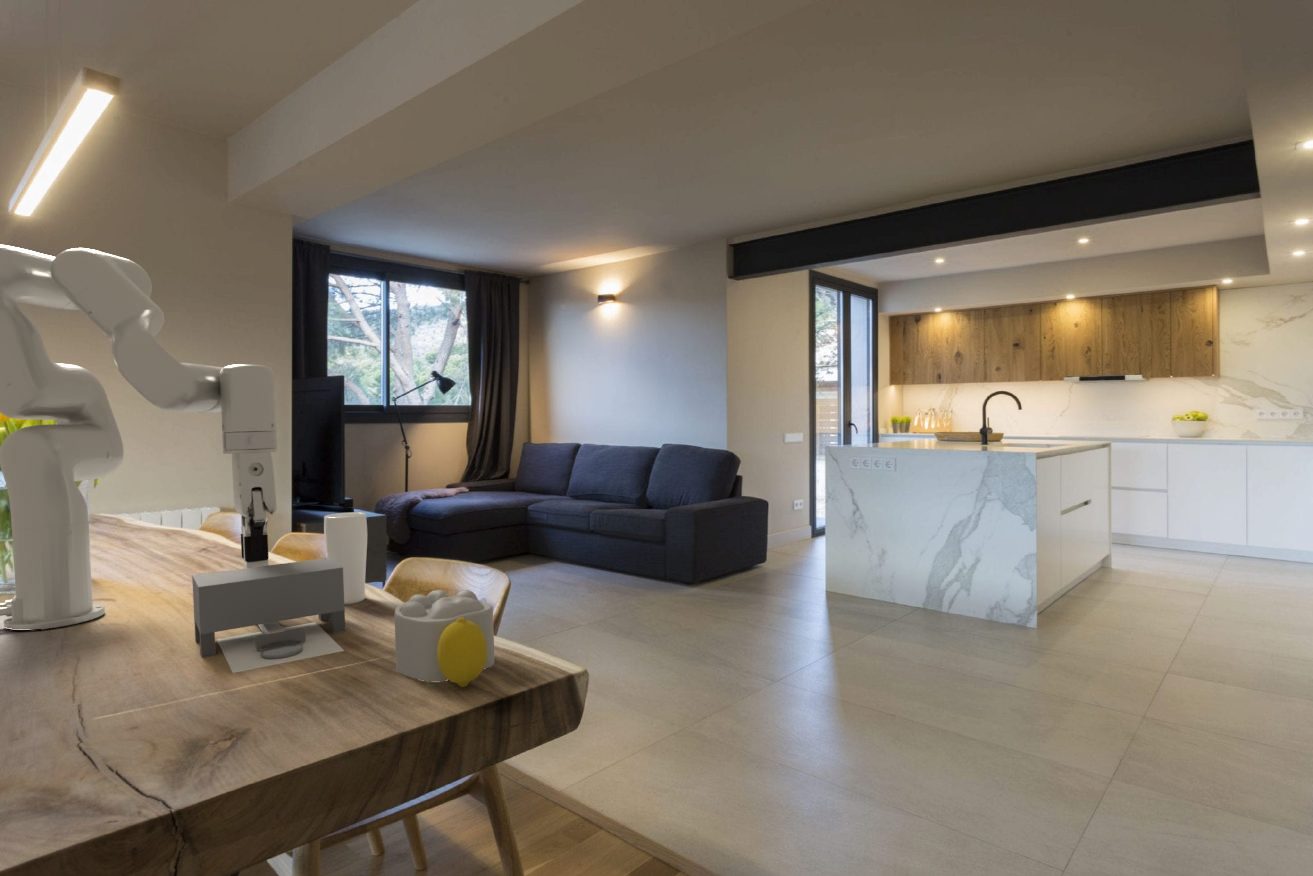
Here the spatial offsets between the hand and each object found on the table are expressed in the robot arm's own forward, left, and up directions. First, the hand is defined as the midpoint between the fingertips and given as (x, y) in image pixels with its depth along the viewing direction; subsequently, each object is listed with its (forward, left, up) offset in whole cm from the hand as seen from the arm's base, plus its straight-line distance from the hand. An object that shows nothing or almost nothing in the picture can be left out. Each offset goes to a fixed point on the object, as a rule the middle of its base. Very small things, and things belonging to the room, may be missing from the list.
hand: (255, 558), depth 116 cm
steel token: (0, -23, -10) cm, 25 cm away
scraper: (0, -9, -9) cm, 13 cm away
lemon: (+14, -51, -10) cm, 53 cm away
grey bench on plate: (0, -13, -10) cm, 16 cm away
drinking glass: (+14, +1, -10) cm, 17 cm away
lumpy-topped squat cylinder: (+15, -41, -10) cm, 44 cm away
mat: (0, -19, -10) cm, 21 cm away
